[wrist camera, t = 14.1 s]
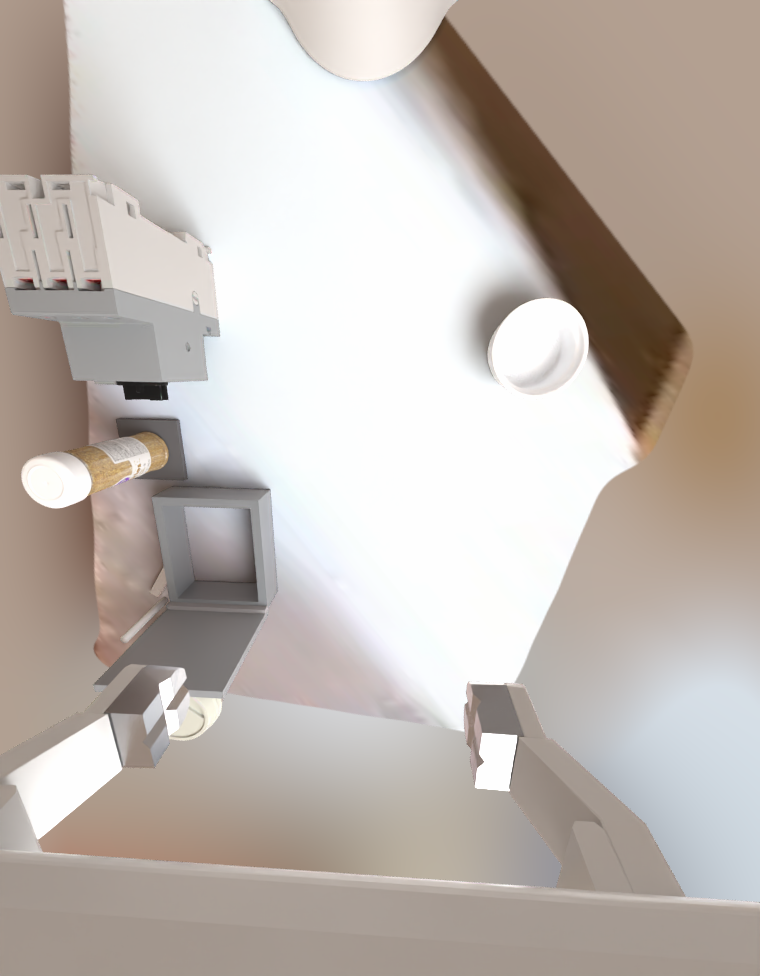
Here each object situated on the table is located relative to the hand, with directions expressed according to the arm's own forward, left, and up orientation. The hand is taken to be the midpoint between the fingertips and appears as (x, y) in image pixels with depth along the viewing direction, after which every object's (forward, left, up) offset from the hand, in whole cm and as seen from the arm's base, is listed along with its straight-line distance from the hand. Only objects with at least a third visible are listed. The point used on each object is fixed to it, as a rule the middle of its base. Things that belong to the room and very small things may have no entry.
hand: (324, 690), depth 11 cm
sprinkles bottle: (0, -26, -33) cm, 42 cm away
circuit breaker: (-13, -21, -33) cm, 41 cm away
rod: (+17, -27, -34) cm, 47 cm away
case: (+12, -19, -33) cm, 40 cm away
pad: (0, -26, -33) cm, 42 cm away
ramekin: (-11, +15, -33) cm, 38 cm away
